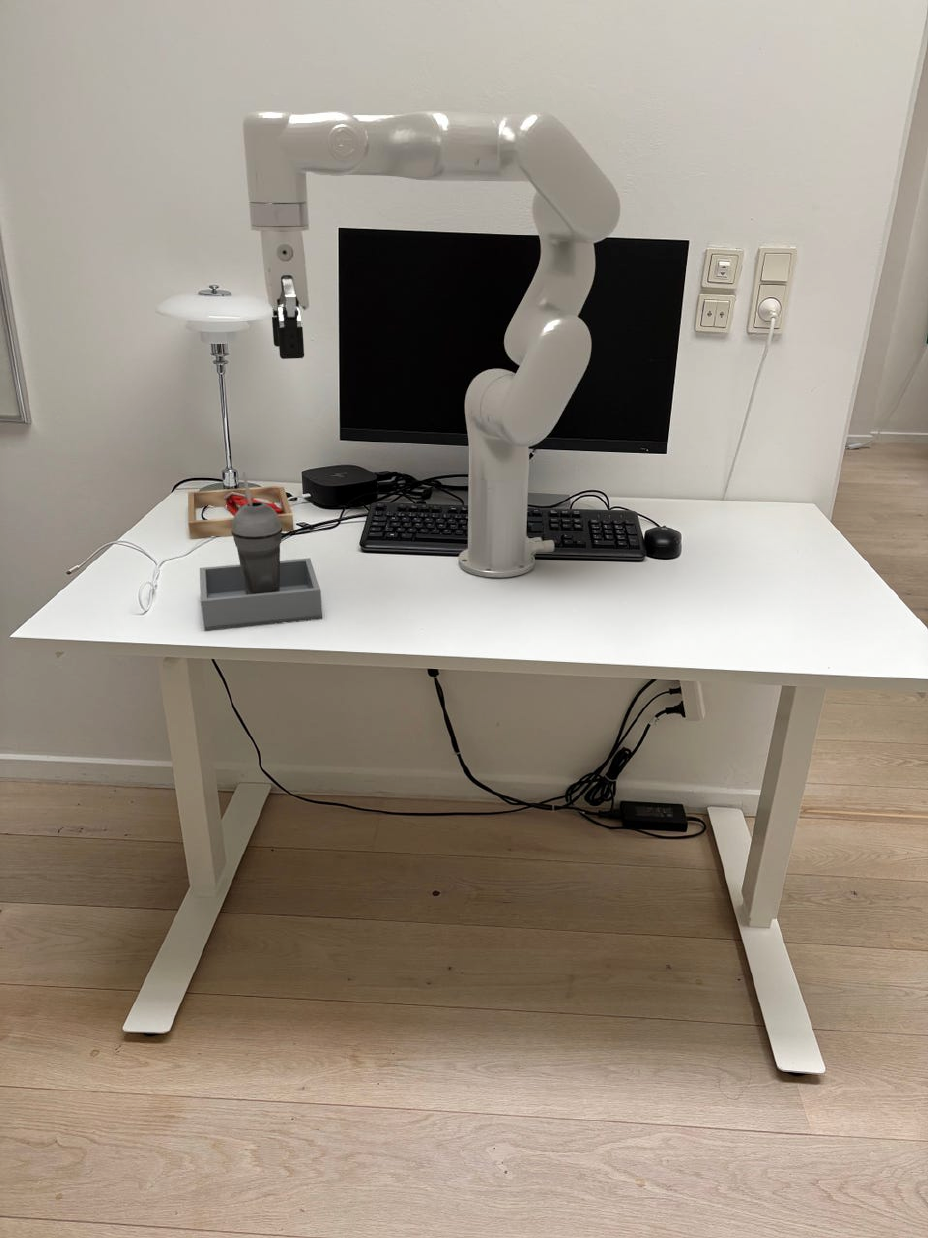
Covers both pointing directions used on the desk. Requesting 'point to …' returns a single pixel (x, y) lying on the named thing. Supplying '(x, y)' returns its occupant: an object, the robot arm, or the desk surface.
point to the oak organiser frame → (217, 499)
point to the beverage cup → (258, 545)
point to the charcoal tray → (259, 597)
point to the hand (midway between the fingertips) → (288, 351)
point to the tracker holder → (239, 500)
